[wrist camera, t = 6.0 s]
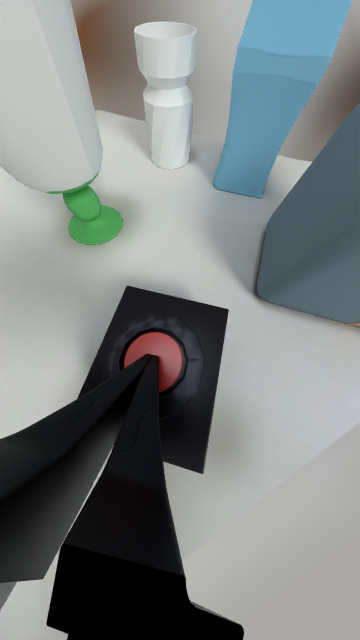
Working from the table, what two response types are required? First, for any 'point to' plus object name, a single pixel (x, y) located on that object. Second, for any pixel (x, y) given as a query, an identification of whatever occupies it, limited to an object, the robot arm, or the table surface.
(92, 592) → the robot arm
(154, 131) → the vase
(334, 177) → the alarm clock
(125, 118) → the table surface
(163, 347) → the button
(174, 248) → the table surface
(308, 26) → the vase
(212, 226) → the table surface
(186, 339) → the control block
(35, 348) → the table surface
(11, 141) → the cup
